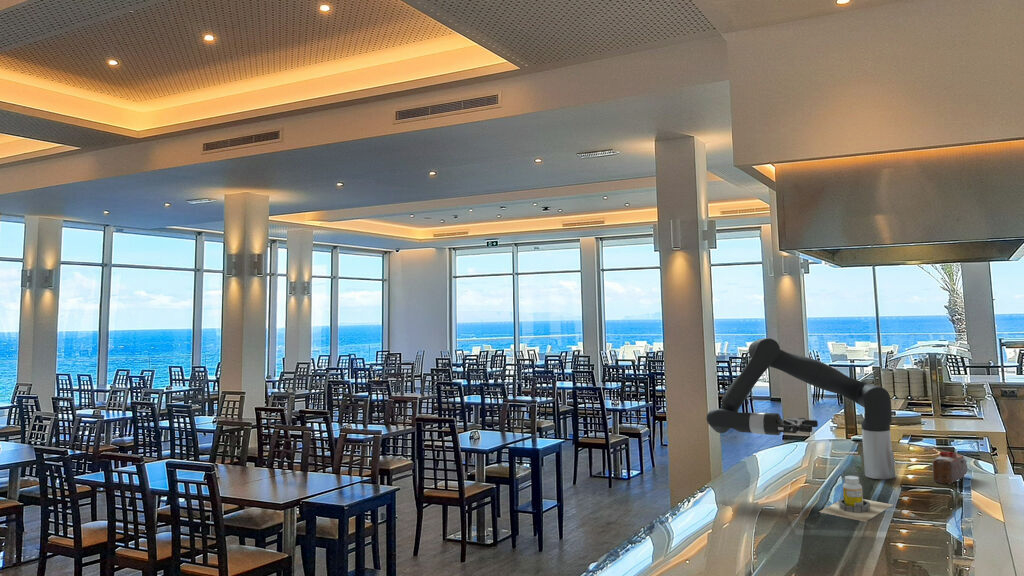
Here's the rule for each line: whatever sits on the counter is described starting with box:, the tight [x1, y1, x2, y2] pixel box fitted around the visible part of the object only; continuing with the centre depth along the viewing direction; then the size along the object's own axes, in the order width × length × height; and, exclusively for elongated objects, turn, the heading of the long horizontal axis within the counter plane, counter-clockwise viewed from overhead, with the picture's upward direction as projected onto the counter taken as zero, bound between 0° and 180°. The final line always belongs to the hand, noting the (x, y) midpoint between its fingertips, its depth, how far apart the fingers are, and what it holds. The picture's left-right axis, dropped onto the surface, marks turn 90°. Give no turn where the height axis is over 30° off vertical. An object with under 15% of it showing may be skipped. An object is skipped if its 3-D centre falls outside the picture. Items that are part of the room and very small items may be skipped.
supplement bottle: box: [842, 475, 864, 506], centre depth 209 cm, size 5×5×10 cm
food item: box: [931, 451, 968, 484], centre depth 235 cm, size 14×8×10 cm, turn 131°
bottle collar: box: [837, 498, 870, 513], centre depth 209 cm, size 9×9×2 cm
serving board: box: [818, 498, 893, 523], centre depth 209 cm, size 20×14×1 cm
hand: (814, 426), depth 225 cm, fingers open, 8 cm apart
